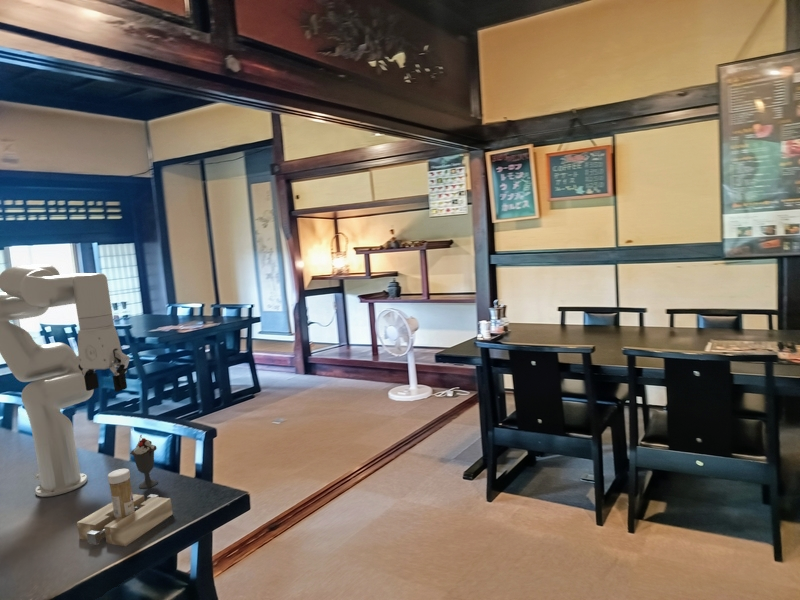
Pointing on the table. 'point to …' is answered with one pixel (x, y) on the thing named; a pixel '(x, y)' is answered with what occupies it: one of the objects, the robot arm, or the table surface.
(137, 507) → the plunger
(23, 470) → the table surface
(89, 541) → the plunger
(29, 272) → the robot arm
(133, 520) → the slotted wooden block
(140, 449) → the sundae
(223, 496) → the table surface
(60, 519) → the table surface
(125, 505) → the sprinkles bottle
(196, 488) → the table surface
